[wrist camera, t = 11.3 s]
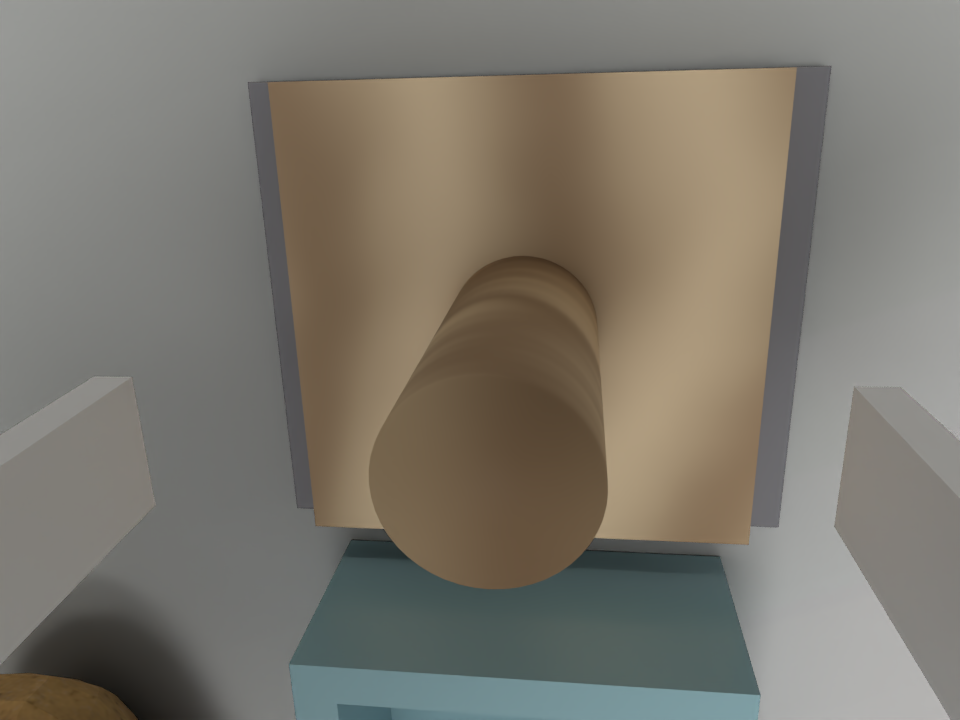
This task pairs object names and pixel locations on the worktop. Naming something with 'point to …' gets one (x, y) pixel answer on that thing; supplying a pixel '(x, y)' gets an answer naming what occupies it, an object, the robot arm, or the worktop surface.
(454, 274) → the lid
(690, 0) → the worktop surface
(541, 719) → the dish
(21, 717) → the potato
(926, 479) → the robot arm
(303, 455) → the mat
